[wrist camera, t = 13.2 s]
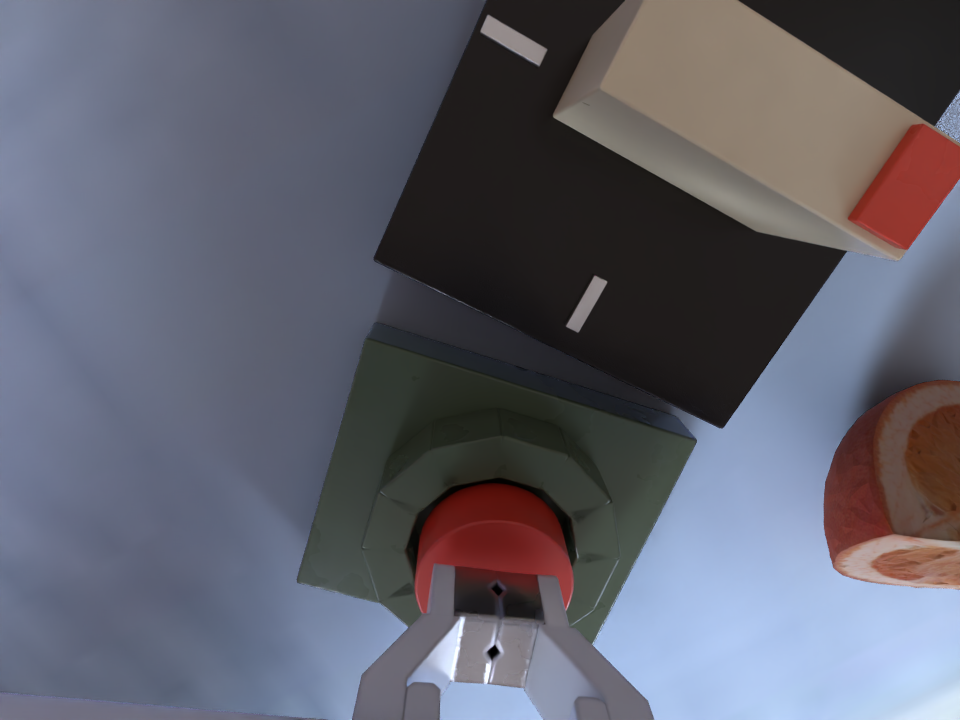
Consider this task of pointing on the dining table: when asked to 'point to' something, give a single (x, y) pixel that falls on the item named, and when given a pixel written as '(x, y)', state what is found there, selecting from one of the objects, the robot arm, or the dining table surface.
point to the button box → (484, 469)
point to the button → (493, 537)
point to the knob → (759, 126)
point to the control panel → (629, 203)
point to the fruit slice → (899, 491)
